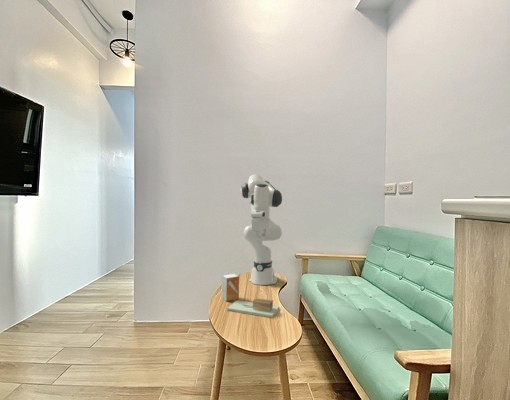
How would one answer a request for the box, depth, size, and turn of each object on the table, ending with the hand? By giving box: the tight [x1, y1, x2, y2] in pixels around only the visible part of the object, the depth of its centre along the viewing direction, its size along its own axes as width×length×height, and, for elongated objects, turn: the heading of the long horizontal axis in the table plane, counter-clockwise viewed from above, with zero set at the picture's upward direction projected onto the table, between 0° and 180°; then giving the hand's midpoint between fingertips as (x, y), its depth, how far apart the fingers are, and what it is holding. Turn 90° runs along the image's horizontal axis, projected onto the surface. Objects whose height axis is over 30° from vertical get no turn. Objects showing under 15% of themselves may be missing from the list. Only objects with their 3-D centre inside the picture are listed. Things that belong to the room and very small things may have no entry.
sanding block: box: [252, 297, 274, 312], centre depth 150 cm, size 5×9×4 cm, turn 70°
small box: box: [221, 273, 240, 302], centre depth 167 cm, size 8×6×13 cm
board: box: [227, 299, 280, 318], centre depth 152 cm, size 12×24×1 cm, turn 69°
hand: (261, 237), depth 164 cm, fingers open, 8 cm apart
